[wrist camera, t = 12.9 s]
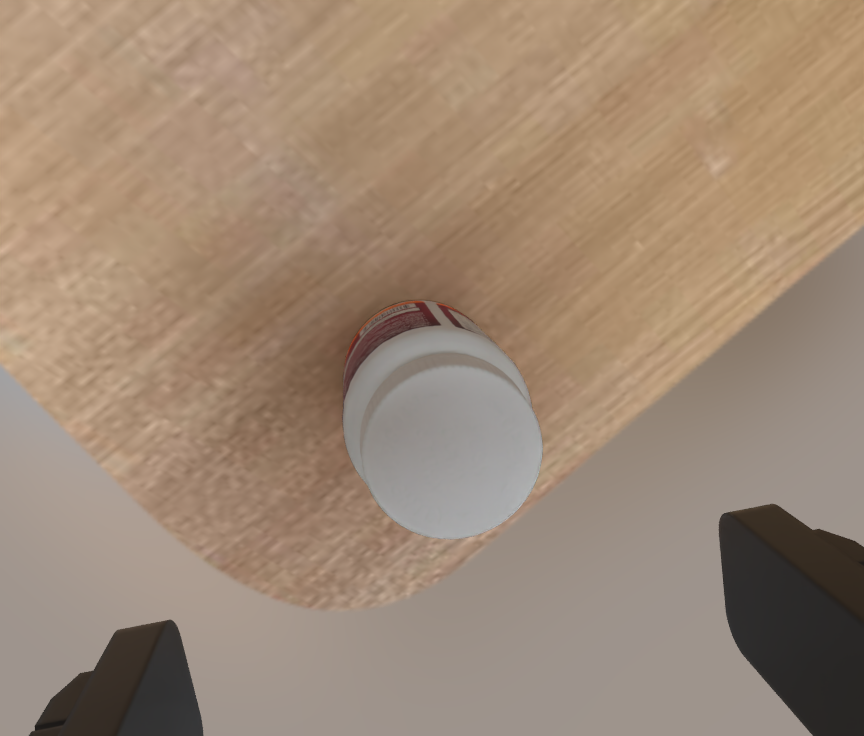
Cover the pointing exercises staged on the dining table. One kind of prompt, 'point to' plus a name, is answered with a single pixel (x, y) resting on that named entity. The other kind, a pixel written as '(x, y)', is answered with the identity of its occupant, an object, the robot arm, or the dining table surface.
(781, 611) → the robot arm
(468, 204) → the dining table surface
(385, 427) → the pill bottle
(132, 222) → the dining table surface
